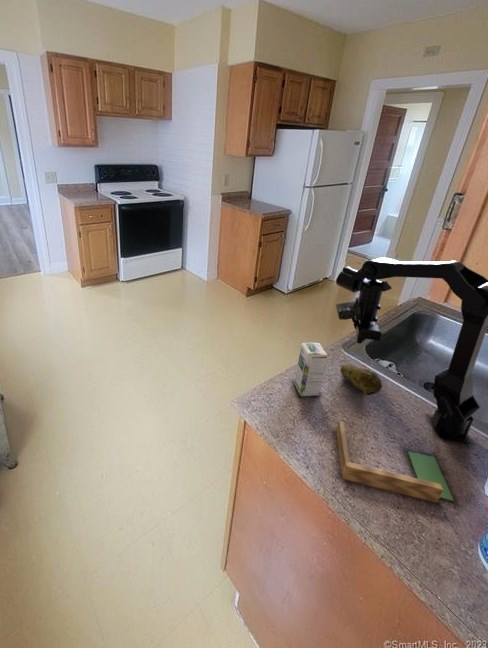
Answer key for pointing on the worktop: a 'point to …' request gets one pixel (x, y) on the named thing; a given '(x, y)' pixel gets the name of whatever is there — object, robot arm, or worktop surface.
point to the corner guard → (384, 475)
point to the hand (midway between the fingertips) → (358, 342)
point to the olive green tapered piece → (362, 379)
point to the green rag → (429, 472)
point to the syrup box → (310, 369)
